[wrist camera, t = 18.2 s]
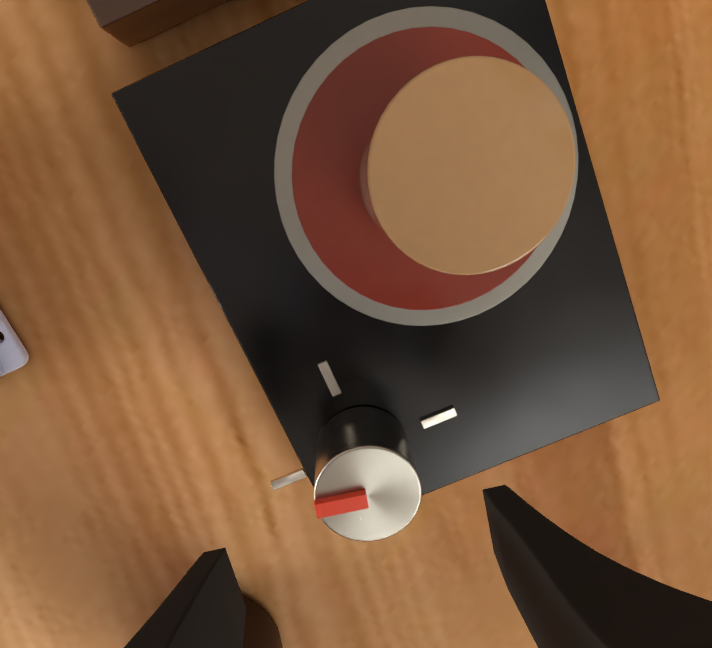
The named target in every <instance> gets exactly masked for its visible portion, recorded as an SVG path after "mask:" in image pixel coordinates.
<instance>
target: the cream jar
mask: <svg viewBox="0 0 712 648" xmlns="http://www.w3.org/2000/svg"><path fill="white" fill-rule="evenodd" d="M575 158H576V155H575V144H574V138H573V134H572V129H571V126H570V123H569V120H568V118H567V115H566V113H565V111H564V109H563V107H562V105H561V103H560V102H559V100H558V99H557V98H556V96H555V95H554V93H553V92H552V91H551V89H550V88H549V87H548V86H547V85H546V84H545V83H544V82H543V81H542V80H541V79H539V78H538V77H537V76H536V75H534V74H533V73H532V72H530V71H529V70H527V69H525V68H523V67H522V66H520V65H518V64H515V63H513V62H510V61H507V60H505V59H500V58H496V57H491V56H463V57H458V58H454V59H449V60H446V61H444V62H441V63H438V64H436V65H433V66H432V67H430V68H428V69H426V70H424V71H422V72H421V73H419V74H418V75H417V76H415V77H414V78H412V79H411V80H410V81H409V82H408V83H406V84H405V85H404V86H403V87H402V88H401V89H400V90H399V91H398V92H397V94H396V95H395V96H394V97H393V99H392V100H391V101H390V102H389V104H388V105H387V107H386V109H385V110H384V112H383V113H382V115H381V117H380V118H379V120H378V122H377V124H376V127H375V129H374V131H373V133H372V137H371V139H370V140H369V142H368V144H367V146H366V148H365V151H364V154H363V157H362V160H361V166H360V177H359V180H360V190H361V195H362V199H363V202H364V205H365V207H366V209H367V211H368V213H369V215H370V216H371V218H372V219H373V221H374V222H375V223H376V224H377V225H378V227H379V228H380V229H382V230H383V231H384V233H385V234H386V236H387V237H388V238H389V239H390V240H391V241H392V243H393V244H394V245H395V246H397V247H398V248H399V249H400V250H401V251H402V252H403V253H404V254H406V255H407V256H408V257H410V258H411V259H413V260H414V261H416V262H417V263H419V264H421V265H423V266H425V267H427V268H430V269H433V270H436V271H439V272H442V273H448V274H453V275H477V274H484V273H488V272H493V271H496V270H498V269H501V268H504V267H507V266H509V265H511V264H513V263H515V262H517V261H518V260H520V259H521V258H523V257H524V256H526V255H527V254H529V253H530V252H531V251H532V250H533V249H535V248H536V247H537V246H538V245H539V244H540V243H541V242H542V241H543V240H544V239H545V238H546V237H547V236H548V234H549V233H550V232H551V230H552V229H553V228H554V226H555V225H556V223H557V222H558V220H559V218H560V216H561V215H562V213H563V211H564V209H565V206H566V204H567V202H568V199H569V196H570V193H571V189H572V186H573V180H574V174H575Z"/></svg>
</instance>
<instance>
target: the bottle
mask: <svg viewBox="0 0 712 648" xmlns="http://www.w3.org/2000/svg"><path fill="white" fill-rule="evenodd" d="M243 600H244V603H245V606H246V614H245V627H244V637H243V646H242V648H283V647H282V642H281V639H280V635H279V631H278V627H277V626H276V624H275V623H274V621H273V620H272V619H271V617H270V616H269V614H268V613H267V612H266V611H265V610H263V609H262V608H261V607H259V606H258V605H256V604H255V603H254V602H252V601H251V600H249V599H246V598H243Z"/></svg>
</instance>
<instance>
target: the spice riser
mask: <svg viewBox="0 0 712 648" xmlns="http://www.w3.org/2000/svg"><path fill="white" fill-rule="evenodd" d="M225 1H227V0H87V2H88V4H89V6H90V8H91V10H92V12H93V14H94V16H95V18H96V20H97V22H98V24H99V26H100V27H101V28H102V29H104V30H105V31H106V32H108V33H109V34H111V35H112V36H113V37H115V38H116V39H118V40H119V41H121V42H122V43H123V44H125V45H126V46H128V47H131V46H133V45H135V44H137V43H139V42H141V41H144V40H146V39H148V38H150V37H152V36H154V35H156V34H158V33H160V32H162V31H165V30H167V29H169V28H171V27H173V26H175V25H177V24H179V23H181V22H183V21H186V20H188V19H190V18H192V17H194V16H196V15H198V14H200V13H202V12H204V11H206V10H209V9H211V8H213V7H215V6H217V5H219V4H221V3H223V2H225Z"/></svg>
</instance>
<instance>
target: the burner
mask: <svg viewBox="0 0 712 648" xmlns="http://www.w3.org/2000/svg"><path fill="white" fill-rule="evenodd" d="M463 56H491V57H496V58H500V59H505V60H507V61H510V62H513V63H515V64H518V65H520V66H522V67H523V68H525V69H527V70H529V71H530V72H532V73H533V74H534V75H536V76H537V77H538V78H539V79H541V80H542V81H543V82H544V83H545V84H546V85H547V86H548V87H549V88H550V89H551V91H552V92H553V93H554V95H555V96H556V98H557V99H558V100H559V102H560V103H561V105H562V107H563V109H564V111H565V113H566V115H567V118H568V120H569V123H570V126H571V129H572V134H573V138H574V144H575V155H576V158H575V174H574V180H573V186H572V189H571V193H570V196H569V199H568V202H567V204H566V206H565V209H564V211H563V213H562V215H561V216H560V218H559V220H558V222H557V223H556V225H555V226H554V228H553V229H552V230H551V232H550V233H549V234H548V236H547V237H546V238H545V239H544V240H543V241H542V242H541V243H540V244H539V245H538V246H537V247H536V248H535V249H533V250H532V251H531V252H530V253H529V254H527V255H526V256H524V257H523V258H521V259H520V260H518V261H517V262H515V263H513V264H511V265H509V266H507V267H504V268H501V269H498V270H496V271H493V272H488V273H484V274H477V275H453V274H448V273H442V272H439V271H436V270H433V269H430V268H427V267H425V266H423V265H421V264H419V263H417V262H416V261H414V260H413V259H411V258H410V257H408V256H407V255H406V254H404V253H403V252H402V251H401V250H400V249H399V248H398V247H397V246H395V245H394V244H393V243H392V241H391V240H390V239H389V238H388V237H387V236H386V234H385V233H384V231H383V230H382V229H380V228H379V227H378V225H377V224H376V223H375V222H374V221H373V219H372V218H371V216H370V215H369V213H368V211H367V209H366V207H365V205H364V202H363V199H362V195H361V190H360V180H359V177H360V166H361V160H362V157H363V154H364V151H365V148H366V146H367V144H368V142H369V140H370V139H371V137H372V133H373V131H374V129H375V127H376V124H377V122H378V120H379V118H380V117H381V115H382V113H383V112H384V110H385V109H386V107H387V105H388V104H389V102H390V101H391V100H392V99H393V97H394V96H395V95H396V94H397V92H398V91H399V90H400V89H401V88H402V87H403V86H404V85H405V84H406V83H408V82H409V81H410V80H411V79H412V78H414V77H415V76H417V75H418V74H419V73H421V72H422V71H424V70H426V69H428V68H430V67H432V66H433V65H436V64H438V63H441V62H444V61H446V60H449V59H454V58H458V57H463ZM577 178H578V145H577V135H576V130H575V126H574V121H573V117H572V113H571V110H570V108H569V105H568V102H567V99H566V97H565V94H564V92H563V90H562V88H561V86H560V85H559V83H558V81H557V79H556V77H555V75H554V74H553V73H552V71H551V70H550V68H549V67H548V65H547V64H546V63H545V61H544V60H543V59H542V58H541V57H540V55H539V54H538V53H537V52H536V51H535V50H534V49H533V48H532V47H531V46H530V45H529V44H528V43H527V42H525V41H524V40H523V39H522V38H520V37H519V36H518V35H517V34H515V33H514V32H513V31H511V30H510V29H508V28H506V27H504V26H503V25H501V24H499V23H498V22H496V21H494V20H492V19H489V18H487V17H484V16H482V15H479V14H476V13H474V12H470V11H465V10H461V9H456V8H450V7H437V6H426V7H412V8H406V9H402V10H397V11H393V12H389V13H386V14H383V15H381V16H378V17H376V18H373V19H370V20H368V21H366V22H364V23H363V24H361V25H359V26H357V27H355V28H354V29H352V30H350V31H348V32H347V33H346V34H344V35H343V36H342V37H340V38H339V39H338V40H336V41H335V42H334V43H332V44H331V45H330V46H329V47H328V48H327V49H326V50H325V51H324V52H323V53H322V54H321V55H320V56H319V57H318V58H317V59H316V60H315V62H314V63H313V64H312V66H311V67H310V68H309V69H308V71H307V72H306V73H305V75H304V76H303V77H302V79H301V81H300V82H299V84H298V86H297V88H296V89H295V91H294V93H293V95H292V96H291V99H290V101H289V104H288V106H287V108H286V111H285V113H284V116H283V119H282V122H281V126H280V130H279V133H278V137H277V144H276V151H275V158H274V183H275V192H276V201H277V205H278V209H279V213H280V217H281V221H282V224H283V226H284V229H285V231H286V234H287V236H288V239H289V241H290V243H291V245H292V247H293V248H294V250H295V252H296V254H297V256H298V258H299V259H300V260H301V262H302V263H303V264H304V266H305V267H306V269H307V270H308V271H309V273H310V274H311V275H312V276H313V277H314V278H315V279H316V280H317V281H318V282H319V283H320V285H321V286H322V287H323V288H325V289H326V290H327V291H328V292H330V293H331V294H332V295H333V296H334V297H336V298H337V299H338V300H340V301H341V302H343V303H345V304H346V305H348V306H349V307H351V308H353V309H355V310H357V311H359V312H361V313H363V314H366V315H368V316H370V317H373V318H376V319H380V320H383V321H386V322H391V323H397V324H403V325H416V326H428V325H440V324H446V323H451V322H455V321H460V320H463V319H466V318H469V317H472V316H475V315H478V314H480V313H482V312H484V311H486V310H488V309H490V308H492V307H494V306H496V305H497V304H499V303H501V302H502V301H504V300H505V299H507V298H508V297H510V296H511V295H512V294H514V293H515V292H516V291H517V290H518V289H520V288H521V287H522V286H523V285H524V284H526V283H527V282H528V280H529V279H530V278H531V277H532V276H533V275H534V274H535V273H536V272H537V271H538V270H539V269H540V267H541V266H542V265H543V263H544V262H545V261H546V259H547V258H548V256H549V255H550V254H551V252H552V251H553V249H554V247H555V245H556V243H557V242H558V240H559V238H560V236H561V234H562V232H563V230H564V227H565V225H566V222H567V220H568V218H569V215H570V211H571V208H572V204H573V201H574V197H575V191H576V185H577Z"/></svg>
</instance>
